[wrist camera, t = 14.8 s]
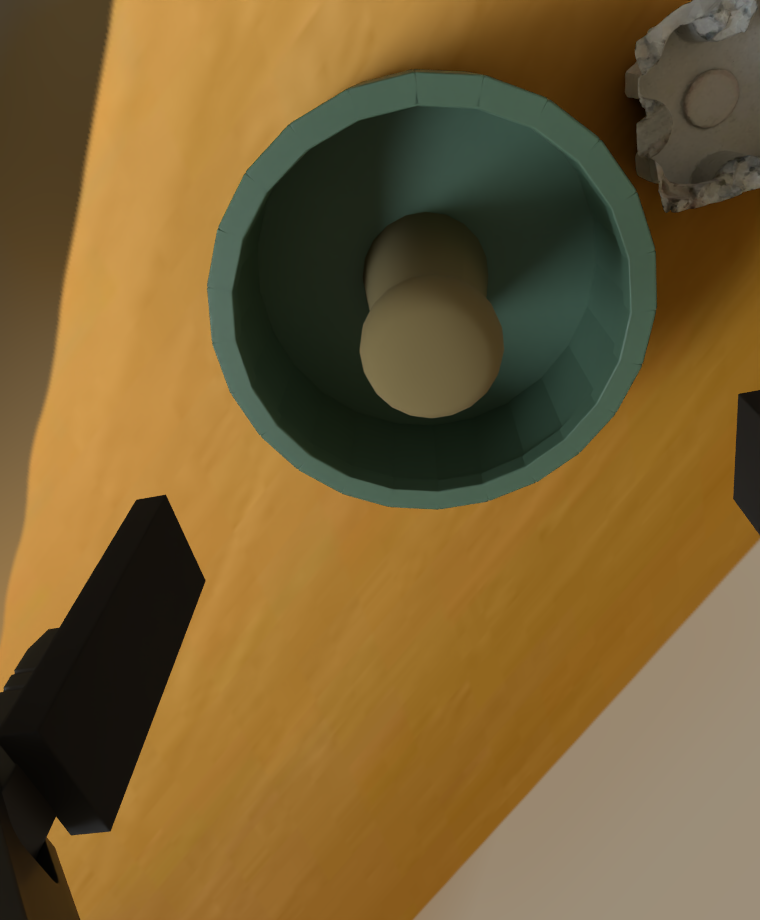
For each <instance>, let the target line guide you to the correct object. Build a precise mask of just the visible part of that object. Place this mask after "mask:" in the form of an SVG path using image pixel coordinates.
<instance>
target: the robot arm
mask: <svg viewBox="0 0 760 920" xmlns="http://www.w3.org/2000/svg"><path fill="white" fill-rule="evenodd" d="M733 499H734V500H735V502H736V503H737V504H738V506H739V507H740V509H741V510H742V511H743V513H744V514H745V515H746V517H747V518H748V520H749V521H750V522H751V524H752V525H753V526H754V528H755V529H756V531H757V532H758V533H759V535H760V390H758V391H752V392H747V393H741V394H738V414H737V435H736V455H735V475H734V496H733ZM204 584H205V579H204V576H203V574H202V572H201V570H200V568H199V566H198V563H197V561H196V559H195V557H194V555H193V553H192V550H191V548H190V546H189V544H188V542H187V540H186V537H185V535H184V533H183V531H182V529H181V527H180V524H179V522H178V520H177V518H176V516H175V514H174V511H173V509H172V507H171V505H170V503H169V501H168V498H167V496H166V495H161V496H156V497H150V498H144V499H139V500H136V501H135V503H134V505H133V506H132V508H131V510H130V511H129V513H128V515H127V516H126V518H125V520H124V521H123V523H122V525H121V526H120V528H119V530H118V531H117V533H116V535H115V536H114V538H113V540H112V541H111V543H110V544H109V546H108V548H107V549H106V551H105V553H104V554H103V556H102V558H101V559H100V561H99V563H98V564H97V566H96V568H95V569H94V571H93V573H92V574H91V576H90V578H89V579H88V581H87V583H86V584H85V586H84V588H83V589H82V591H81V593H80V594H79V596H78V598H77V599H76V601H75V603H74V604H73V606H72V608H71V609H70V611H69V613H68V614H67V616H66V618H65V619H64V621H63V623H62V624H61V626H60V628H54V629H48V630H47V631H46V632H45V633H44V634H43V635H42V636H41V637H40V638H39V639H38V640H37V641H36V642H35V643H34V644H33V645H32V646H31V647H30V648H29V649H28V650H27V651H26V653H25V655H24V656H23V658H22V659H21V661H20V662H19V664H18V666H17V667H16V669H15V670H14V671H15V674H14V675H11V677H10V678H9V680H8V681H7V683H6V685H5V686H4V692H1V693H0V920H80V918H79V915H78V912H77V909H76V906H75V904H74V901H73V898H72V895H71V892H70V889H69V887H68V884H67V881H66V878H65V875H64V872H63V869H62V867H61V864H60V861H59V858H58V855H57V852H56V849H55V847H54V846H53V845H52V843H51V842H50V841H49V840H48V838H47V835H48V833H49V830H50V828H51V826H52V824H53V822H54V819H55V817H57V818H58V819H59V821H60V822H61V823H62V824H63V826H64V827H65V828H66V830H67V831H68V832H69V833H70V835H79V834H89V833H99V832H109V831H111V829H112V826H113V823H114V821H115V818H116V815H117V813H118V810H119V808H120V805H121V802H122V800H123V797H124V794H125V792H126V789H127V786H128V784H129V781H130V779H131V776H132V773H133V771H134V768H135V765H136V763H137V760H138V757H139V755H140V752H141V750H142V747H143V744H144V742H145V739H146V736H147V734H148V731H149V729H150V726H151V723H152V721H153V718H154V715H155V713H156V710H157V707H158V705H159V702H160V700H161V697H162V694H163V692H164V689H165V686H166V684H167V681H168V678H169V676H170V673H171V671H172V668H173V665H174V663H175V660H176V657H177V655H178V652H179V649H180V647H181V644H182V642H183V639H184V636H185V634H186V631H187V628H188V626H189V623H190V620H191V618H192V615H193V613H194V610H195V607H196V605H197V602H198V599H199V597H200V594H201V591H202V589H203V586H204Z"/></svg>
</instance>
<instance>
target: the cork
mask: <svg viewBox="0 0 760 920" xmlns="http://www.w3.org/2000/svg"><path fill="white" fill-rule="evenodd" d="M362 279H363V284H364V289H365V294H366V298H367V302H368V306H369V310H370V312H369V314H368V316H367V318H366V320H365V322H364V324H363V328H362V335H361V343H360V356H361V360H362V365H363V370H364V373H365V375H366V377H367V378H368V380H369V382H370V383H371V385H372V387H373V388H374V390H375V392H376V393H377V395H379V396H380V397H381V398H382V399H383V400H384V401H385V402H387V403H388V404H389V405H390V406H391V407H393V408H395V409H397V410H399V411H401V412H404V413H406V414H408V415H410V416H417V417H425V418H437V417H444V416H450V415H454V414H456V413H458V412H460V411H462V410H465V409H467V408H469V407H471V406H472V405H473V404H474V403H476V402H477V401H478V400H479V399H480V398H481V397H483V396H484V395H485V394H486V393H487V392H488V390H489V388H490V387H491V385H492V384H493V382H494V380H495V379H496V377H497V375H498V373H499V369H500V365H501V361H502V357H503V353H504V342H503V331H502V326H501V324H500V322H499V319H498V317H497V315H496V313H495V311H494V309H493V307H492V304H491V303H490V302H489V301H488V300H487V299H486V297H487V286H488V268H487V259H486V255H485V253H484V251H483V248H482V246H481V244H480V242H479V240H478V238H477V237H476V236H475V235H474V234H473V233H472V232H471V231H470V230H469V229H468V228H467V227H466V225H465V224H463V223H461V222H459V221H457V220H455V219H453V218H451V217H450V216H448V215H445V214H438V213H431V212H422V213H416V214H411V215H406V216H404V217H402V218H400V219H398V220H396V221H395V222H393V223H391V224H389V225H387V226H386V227H385V229H384V230H383V231H382V232H381V233H380V234H379V235H378V236H377V237H376V238H375V239H374V240H373V242H372V245H371V247H370V249H369V251H368V253H367V255H366V257H365V262H364V270H363V278H362Z"/></svg>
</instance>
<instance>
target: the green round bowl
mask: <svg viewBox="0 0 760 920" xmlns="http://www.w3.org/2000/svg"><path fill="white" fill-rule="evenodd" d="M422 212H431V213H438V214H445V215H448V216H450V217H451V218H453V219H455V220H457V221H459V222H461V223H463V224H465V225H466V227H467V228H468V229H469V230H470V231H471V232H472V233H473V234H474V235H475V236H476V237H477V238H478V240H479V242H480V244H481V246H482V248H483V251H484V253H485V255H486V259H487V268H488V286H487V297H486V299H487V300H488V301H489V302H490V303H491V304H492V307H493V309H494V311H495V313H496V315H497V317H498V319H499V322H500V324H501V326H502V331H503V342H504V353H503V357H502V361H501V365H500V369H499V373H498V375H497V377H496V379H495V380H494V382H493V384H492V385H491V387H490V388H489V390H488V392H487V393H486V394H485V395H484V396H483V397H481V398H480V399H479V400H478V401H477V402H476V403H474V404H473V405H472V406H471V407H469V408H467V409H465V410H462V411H460V412H458V413H456V414H454V415H450V416H444V417H437V418H425V417H417V416H410V415H408V414H406V413H404V412H401V411H399V410H397V409H395V408H393V407H391V406H390V405H389V404H388V403H387V402H385V401H384V400H383V399H382V398H381V397H380V396H379V395H377V393H376V392H375V390H374V388H373V387H372V385H371V383H370V382H369V380H368V378H367V377H366V375H365V373H364V370H363V365H362V360H361V356H360V343H361V335H362V328H363V324H364V322H365V320H366V318H367V316H368V314H369V312H370V310H369V306H368V302H367V298H366V294H365V289H364V284H363V279H362V278H363V270H364V262H365V257H366V255H367V253H368V251H369V249H370V247H371V245H372V242H373V240H374V239H375V238H376V237H377V236H378V235H379V234H380V233H381V232H382V231H383V230H384V229H385V227H386V226H387V225H389V224H391V223H393V222H395V221H396V220H398V219H400V218H402V217H404V216H406V215H411V214H416V213H422ZM207 286H208V288H207V292H208V303H209V314H210V325H211V337H212V342H213V343H212V344H213V347H214V350H215V352H216V355H217V358H218V361H219V363H220V366H221V369H222V372H223V374H224V377H225V380H226V383H227V385H228V388H229V391H230V393H231V394H232V396H233V397H234V399H235V400H236V402H237V403H238V405H239V406H240V408H241V409H242V410H243V412H244V413H245V415H246V416H247V418H248V419H249V421H250V422H251V424H252V425H253V426H254V428H255V429H256V431H257V432H258V434H259V435H261V437H262V438H263V439H264V440H265V441H266V442H267V443H269V444H270V445H271V446H272V447H273V448H274V449H275V450H276V451H278V452H279V453H280V454H281V455H282V456H283V457H284V458H285V459H287V460H288V461H289V462H290V463H291V464H292V465H293V466H294V467H296V468H297V469H299V471H301V472H303V473H305V474H307V475H309V476H310V477H312V478H314V479H316V480H318V481H320V482H322V483H323V484H325V485H327V486H329V487H331V488H333V489H335V490H336V491H338V492H340V493H342V494H345V495H348V496H352V497H355V498H359V499H363V500H366V501H370V502H373V503H377V504H381V505H384V506H388V507H389V506H390V507H400V508H419V509H445V508H451V507H457V506H463V505H469V504H475V503H481V502H487V501H488V500H493V499H495V498H498V497H500V496H503V495H505V494H508V493H510V492H513V491H515V490H518V489H520V488H523V487H525V486H528V485H530V484H533V483H535V482H538V481H539V480H541V479H542V478H544V477H545V476H547V475H548V474H550V473H551V472H552V471H554V470H555V469H557V468H558V467H560V466H561V465H563V464H564V463H566V462H567V461H569V460H570V459H572V458H573V457H574V456H576V455H577V454H579V452H581V451H582V450H583V449H584V448H585V447H586V446H587V444H588V443H589V442H590V441H591V440H592V439H593V438H594V437H595V436H596V435H597V434H598V432H599V431H600V430H601V429H602V428H603V427H604V426H605V425H606V424H607V423H608V422H609V421H610V419H611V418H612V417H613V416H614V415H615V412H617V410H618V409H619V407H620V405H621V403H622V401H623V399H624V398H625V396H626V394H627V392H628V390H629V389H630V387H631V385H632V383H633V381H634V379H635V378H636V376H637V374H638V372H639V370H640V369H641V367H642V363H643V361H644V357H645V353H646V349H647V345H648V341H649V337H650V333H651V329H652V326H653V322H654V318H655V314H656V309H657V287H656V251H655V246H654V243H653V240H652V237H651V234H650V230H649V227H648V224H647V221H646V218H645V215H644V211H643V208H642V205H641V202H640V199H639V196H638V193H637V192H636V189H635V188H634V186H633V185H632V183H631V182H630V180H629V179H628V177H627V176H626V175H625V173H624V172H623V170H622V169H621V167H620V166H619V164H618V163H617V161H616V160H615V159H614V157H613V156H612V154H611V153H610V151H609V150H608V148H607V147H606V146H605V144H604V143H603V141H602V140H600V139H599V137H598V136H597V135H595V134H594V133H593V132H591V131H590V130H589V129H587V128H586V127H585V126H584V125H582V124H581V123H580V122H578V121H577V120H576V119H575V118H573V117H572V116H571V115H569V114H568V113H567V112H566V111H564V110H563V109H562V108H560V107H559V106H558V105H557V104H555V103H554V102H553V101H551V100H549V99H547V98H546V97H544V96H541V95H538V94H536V93H533V92H530V91H528V90H525V89H522V88H519V87H517V86H514V85H511V84H508V83H506V82H503V81H500V80H498V79H495V78H492V77H489V76H487V75H482V74H477V73H471V72H466V71H445V70H424V69H414V70H412V69H411V70H407V71H403V72H399V73H395V74H391V75H387V76H384V77H380V78H376V79H372V80H368V81H364V82H361V83H359V84H356V85H354V86H352V87H350V88H348V89H346V90H344V91H343V92H341V93H339V94H338V95H336V96H335V97H333V98H331V99H330V100H328V101H326V102H325V103H323V104H321V105H320V106H318V107H316V108H315V109H313V110H311V111H310V112H308V113H306V114H305V115H303V116H301V117H300V118H298V119H296V120H295V121H293V122H291V123H290V124H289V125H288V126H287V127H286V128H285V129H284V130H283V131H282V132H281V134H280V135H279V136H278V137H277V138H276V139H275V140H274V141H273V142H272V143H271V144H270V146H269V147H268V148H267V149H266V150H265V151H264V152H263V153H262V154H261V155H260V157H259V158H258V159H257V160H256V161H255V162H254V163H253V164H252V165H251V166H250V167H249V169H248V170H247V171H246V173H245V174H244V176H243V178H242V180H241V182H240V184H239V186H238V188H237V190H236V192H235V194H234V196H233V198H232V200H231V202H230V204H229V206H228V208H227V210H226V212H225V214H224V216H223V218H222V220H221V223H220V225H219V228H218V230H217V234H216V240H215V245H214V251H213V256H212V262H211V267H210V273H209V278H208V283H207Z"/></svg>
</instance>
